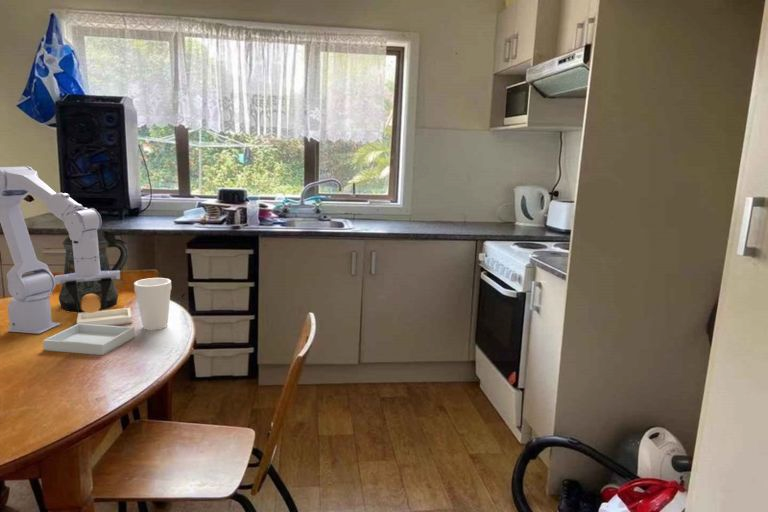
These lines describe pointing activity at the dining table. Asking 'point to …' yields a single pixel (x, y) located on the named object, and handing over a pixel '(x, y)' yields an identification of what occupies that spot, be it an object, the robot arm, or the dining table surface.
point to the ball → (90, 303)
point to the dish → (106, 317)
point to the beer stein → (94, 287)
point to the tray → (89, 339)
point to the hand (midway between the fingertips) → (91, 308)
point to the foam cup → (153, 301)
